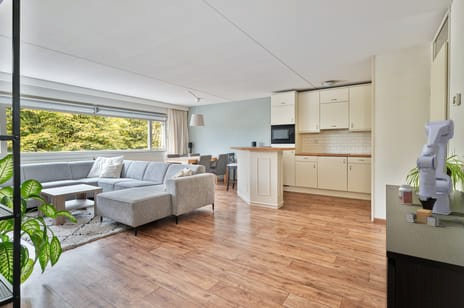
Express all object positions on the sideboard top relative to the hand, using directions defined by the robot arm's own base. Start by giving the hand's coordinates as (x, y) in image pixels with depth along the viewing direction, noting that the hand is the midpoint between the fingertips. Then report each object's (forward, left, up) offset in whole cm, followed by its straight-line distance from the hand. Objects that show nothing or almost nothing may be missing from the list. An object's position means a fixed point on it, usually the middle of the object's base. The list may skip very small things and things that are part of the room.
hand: (427, 214), depth 105 cm
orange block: (+6, 0, -2) cm, 6 cm away
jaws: (+9, 0, -2) cm, 9 cm away
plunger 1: (+10, -2, -2) cm, 10 cm away
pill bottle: (-26, -15, -2) cm, 30 cm away
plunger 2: (+10, +3, -2) cm, 10 cm away
